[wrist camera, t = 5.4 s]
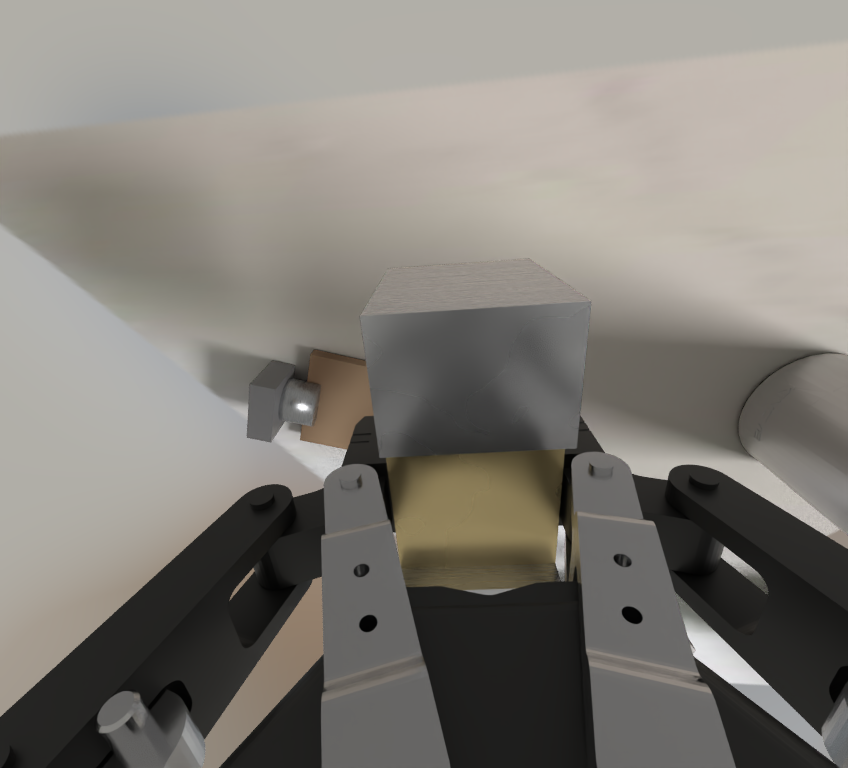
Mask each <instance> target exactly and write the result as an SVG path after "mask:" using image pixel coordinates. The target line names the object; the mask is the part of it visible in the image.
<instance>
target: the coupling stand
mask: <svg viewBox="0 0 848 768" xmlns="http://www.w3.org/2000/svg"><path fill="white" fill-rule="evenodd" d="M294 370H295V365H292V364H287V363H283V362H278V361H273V360H272V361H271V362H270V363H269V364H268V366H267V367H266V368H265V369H264V370H263V371H262V372H261V373H260V374H259V375H258V376H257V377H256V378H255V379H254V380H253V381H252V382H251V383H250V388H249V407H248V425H247V438H252V439H257V440H262V441H267V442H272V440H273V439H274V437H275V436H276V434H277V432H278V431H279V429H280V428H281V426H282V425H283V423H284V422H285V421H287V422H292V423H297V424H302V428H301V437H300V440H303V441H307V442H312V443H317V444H322V445H327V446H332V447H337V448H342V449H348V446H349V444H350V440H351V437H352V434H353V431H354V428H355V425H356V424H357V423H358V422H359V421H360V420H361V419H362V418H363V417H364V416H374V414H373V407H372V400H371V393H370V386H369V379H368V372H367V365H366V361H364V360H360V359H355V358H351V357H346V356H342V355H337V354H332V353H328V352H323V351H319V350H313V352H312V353H311V354H310V362H309V370H308V378H307V382H306V381H302V380H297V379H294Z"/></svg>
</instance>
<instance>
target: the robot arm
mask: <svg viewBox="0 0 848 768" xmlns="http://www.w3.org/2000/svg"><path fill="white" fill-rule="evenodd" d="M739 437H740V440H741V443H742V445H743V446H744V448H745V449H746V451H747V452H748V453H749V454H751V455H752V456H753V457H754V458H755V459H757V460H758V461H759V462H760V463H761V464H763V465H764V466H765V467H766V468H767V469H768V470H770V471H771V472H772V473H773V474H774V475H776V476H777V477H778V478H779V479H780V480H782V481H783V482H784V483H785V484H786V485H788V486H789V487H790V488H791V489H792V490H793V491H794V492H796V493H797V494H798V495H799V496H800V497H802V498H803V499H804V500H805V501H807V502H808V503H809V504H810V505H811V506H813V507H814V508H815V509H816V510H817V511H819V512H820V513H821V514H822V515H823V516H825V517H826V518H827V519H828V520H830V521H831V522H832V523H833V524H834V525H836V526H837V527H838V528H839V529H840V530H842V531H843V532H844V533H845V534H847V535H848V356H847V355H843V354H829V353H826V354H820V355H813V356H809V357H806V358H803V359H800V360H797V361H795V362H793V363H791V364H789V365H787V366H784V367H782V368H781V369H779V370H778V371H776V372H775V373H773V374H772V375H771V376H769V377H768V378H767V379H766V380H765V381H764V382H762V383H761V384H760V385H759V386H758V387H757V388H756V389H755V391H754V392H753V393H752V395H751V396H750V397H749V399H748V400H747V402H746V404H745V406H744V408H743V410H742V412H741V416H740V420H739ZM559 525H563V526H564V529H565V542H564V559H565V582H539V583H534V584H530V585H527V586H523V587H519V588H516V589H512V590H509V591H505V592H502V593H498V594H494V595H484V594H479V593H474V592H469V591H463V590H458V589H453V588H448V587H443V586H428V587H406V586H405V581H404V577H403V573H402V569H401V565H400V560H399V557H398V552H397V548H396V544H395V540H394V535H393V532H396V530H395V522H394V515H393V507H392V500H391V492H390V485H389V478H388V470H387V463H386V458H380V457H379V450H378V443H377V436H376V429H375V421H374V416H364V417H363V418H362V419H361V420H360V421H359V422H358V423H357V424H356V425H355V428H354V431H353V434H352V437H351V440H350V444H349V446H348V449H347V452H346V455H345V458H344V461H343V464H342V467H340V468H338V469H336V470H334V471H333V472H332V473H330V474H329V475H328V476H327V478H326V479H325V482H324V488H323V489H320V490H318V491H315V492H312V493H308V494H305V495H301V496H297V497H293V496H292V493H291V491H290V489H289V488H288V487H286V486H283V485H278V484H272V485H265V486H261V487H259V488H256V489H254V490H252V491H250V492H248V493H246V494H245V495H244V496H243V497H241V498H240V499H239V500H238V501H237V502H236V503H235V504H233V505H232V506H231V507H230V508H229V509H228V510H227V511H226V512H225V513H224V514H222V515H221V516H220V517H219V518H218V519H217V520H216V521H215V522H214V523H213V524H211V525H210V526H209V527H208V528H207V529H206V530H205V531H204V532H203V533H202V534H201V535H199V536H198V537H197V538H196V539H195V540H194V541H193V542H192V543H191V544H190V545H189V546H187V547H186V548H185V549H184V550H183V551H182V552H181V553H180V554H179V555H178V556H176V557H175V558H174V559H173V560H172V561H171V562H170V563H169V564H168V565H166V566H165V567H164V568H163V569H162V570H161V571H160V572H159V573H158V574H157V575H156V576H154V577H153V578H152V579H151V580H150V581H149V582H148V583H147V584H146V585H145V586H143V588H141V589H140V590H139V591H138V592H137V593H136V594H135V595H134V596H132V597H131V598H130V599H129V600H128V601H127V602H126V603H125V604H124V605H123V606H121V607H120V608H119V609H118V610H117V611H116V612H115V613H114V614H113V615H112V616H111V617H109V618H108V619H107V620H106V621H105V622H104V623H103V624H102V625H101V626H100V627H98V628H97V629H96V630H95V631H94V632H93V633H92V634H91V635H90V636H89V637H88V638H86V639H85V640H84V641H83V642H82V643H81V644H80V645H79V646H78V647H77V648H75V649H74V650H73V651H72V652H71V653H70V654H69V655H68V656H67V657H66V658H64V659H63V660H62V661H61V662H60V663H59V664H58V665H57V666H56V667H55V668H54V669H52V670H51V671H50V672H49V673H48V674H47V675H46V676H45V677H44V678H42V680H40V681H39V682H38V683H37V684H36V685H35V686H34V687H33V688H32V689H31V690H29V691H28V692H27V693H26V694H25V695H24V696H23V697H22V698H21V699H19V700H18V701H17V702H16V703H15V704H14V705H13V706H12V707H11V708H10V709H9V710H7V711H6V712H5V713H4V714H3V715H2V716H1V717H0V768H202V766H203V763H204V758H205V742H204V739H205V738H206V736H207V735H208V734H209V732H210V731H211V729H212V728H213V726H214V725H215V723H216V722H217V720H218V719H219V718H220V716H221V715H222V713H223V712H224V710H225V709H226V707H227V706H228V705H229V703H230V702H231V700H232V699H233V697H234V696H235V694H236V693H237V691H238V690H239V689H240V687H241V686H242V684H243V683H244V681H245V680H246V678H247V677H248V675H249V674H250V673H251V671H252V670H253V668H254V667H255V665H256V664H257V662H258V661H259V660H260V658H261V656H262V655H263V654H264V652H265V651H266V649H267V648H268V646H269V645H270V644H271V642H272V641H273V639H274V638H275V636H276V635H277V633H278V632H279V630H280V629H281V628H282V626H283V625H284V623H285V622H286V620H287V619H288V617H289V616H290V615H291V613H292V612H293V610H294V609H295V607H296V606H297V604H298V603H299V601H300V600H301V598H302V597H303V596H304V594H305V593H306V591H307V590H308V588H309V587H310V585H311V583H312V580H313V579H315V578H318V577H321V576H322V601H323V644H324V645H323V647H324V654H323V655H322V656H321V658H320V659H319V660H318V661H317V662H316V663H315V664H314V665H313V666H312V667H311V668H310V670H309V671H308V672H307V673H306V674H305V675H304V676H303V677H302V678H301V679H300V680H299V681H298V683H297V684H296V685H295V686H294V687H293V688H292V689H291V690H290V691H289V692H288V693H287V695H286V696H285V697H284V698H283V699H282V700H281V701H280V702H279V703H278V704H277V705H276V706H275V707H274V709H273V710H272V711H271V712H270V713H269V714H268V715H267V716H266V717H265V718H264V719H263V721H262V722H261V723H260V724H259V725H258V726H257V727H256V728H255V729H254V730H253V732H251V734H250V735H249V736H248V737H247V738H246V739H245V740H244V741H243V742H242V744H240V745H239V747H238V748H237V749H236V750H235V751H234V752H233V753H232V754H231V755H230V757H228V758H227V760H226V761H225V762H224V763H223V764H222V765H221V766H220V767H219V768H848V549H847V548H845V547H843V546H842V545H840V544H838V543H836V542H835V541H834V540H832V539H830V538H829V537H827V536H825V535H824V534H822V533H820V532H819V531H817V530H815V529H814V528H812V527H811V526H809V525H807V524H806V523H804V522H802V521H801V520H799V519H797V518H796V517H794V516H792V515H791V514H789V513H787V512H786V511H784V510H783V509H781V508H779V507H778V506H776V505H774V504H773V503H771V502H769V501H768V500H766V499H764V498H763V497H761V496H760V495H758V494H756V493H755V492H753V491H751V490H750V489H748V488H746V487H745V486H743V485H741V484H740V483H738V482H736V481H735V480H733V479H732V478H730V477H728V476H727V475H725V474H723V473H721V472H719V471H717V470H714V469H711V468H708V467H704V466H699V465H681V466H677V467H675V468H673V469H672V470H671V471H670V473H669V476H668V480H662V479H655V478H648V477H642V476H638V475H634V474H632V473H631V469H630V467H629V466H628V465H627V464H626V463H625V462H624V461H623V460H621V459H620V458H618V457H616V456H613V455H610V454H607V453H605V452H604V451H603V449H602V448H601V446H600V445H599V443H598V442H597V440H596V439H595V437H594V435H593V434H592V432H591V431H589V428H588V426H587V425H586V423H584V420H583V419H582V417H581V416H580V420H579V430H578V440H577V448H576V449H565V454H564V465H563V477H562V489H561V501H560V512H559V524H558V526H559ZM724 546H725V547H726V548H728V549H729V550H730V551H732V552H733V553H734V554H735V555H737V556H738V557H739V558H741V559H742V560H743V561H745V562H746V563H747V564H748V565H750V566H751V567H752V568H754V569H755V570H756V571H757V572H758V573H759V574H760V575H761V576H762V578H763V579H764V581H765V582H766V584H767V587H768V590H769V596H768V595H767V594H765V593H764V592H763V591H762V590H761V589H759V588H758V587H757V586H756V585H754V584H753V583H752V582H751V581H749V580H748V579H747V578H746V577H744V576H743V575H742V574H741V573H739V572H738V571H737V570H736V569H734V568H733V567H732V566H731V565H729V564H728V563H727V562H726V561H724V560H723V559H722V558H721V554H722V551H723V548H724ZM252 568H254V570H255V572H254V573H253V574H252V575H251V577H250V578H249V579H248V580H247V581H246V582H245V583H244V585H243V586H242V587H241V588H240V589H239V591H238V592H237V593H236V594H235V595H234V596H233V598H232V599H231V600H230V597H231V595H232V592H233V591H234V589H235V588H236V586H238V584H239V583H240V582H241V581H242V580H243V579H244V578H245V576H246V575H247V574H248V573H249V572H250V570H251V569H252ZM675 592H676V593H677V594H678V595H679V596H680V597H681V598H682V599H683V600H684V601H685V602H686V603H687V604H688V605H689V606H690V607H691V608H692V609H693V610H694V611H695V612H696V613H697V614H698V615H699V616H700V617H701V618H702V619H703V620H704V621H705V622H706V623H707V624H708V625H709V626H710V627H711V628H712V629H713V630H714V631H715V632H716V633H717V634H718V635H719V636H720V637H721V638H722V639H723V640H725V641H726V642H727V643H728V644H729V645H730V646H731V647H732V648H733V649H734V650H735V651H736V652H737V653H738V654H739V655H740V656H741V657H742V658H743V659H744V660H745V661H746V662H747V663H748V664H749V665H750V666H751V667H752V668H753V669H754V670H755V671H756V672H757V673H758V674H759V675H760V676H761V677H762V678H763V679H764V680H765V681H766V682H767V683H768V684H769V685H770V686H771V687H772V688H773V689H774V690H775V691H776V692H777V693H778V694H780V696H782V698H784V700H785V701H787V702H788V703H789V704H790V705H791V706H792V707H793V708H794V709H795V710H796V711H797V712H798V713H799V714H800V715H801V716H802V717H803V718H804V719H805V720H806V721H807V722H808V723H809V724H810V725H811V726H812V727H813V728H814V729H815V730H816V731H817V732H818V733H819V734H820V735H821V736H822V737H823V741H824V744H825V747H826V749H827V751H828V753H829V755H830V757H831V758H832V760H833V762H834V763H835V764H834V763H833V762H832V761H830V760H829V759H828V758H826V757H825V756H824V755H822V754H821V753H820V752H819V751H817V750H816V749H815V748H813V747H812V746H811V745H809V744H808V743H807V742H805V741H804V740H803V739H801V738H800V737H799V736H798V735H796V734H795V733H794V732H792V731H791V730H790V729H788V728H787V727H786V726H784V725H783V724H782V723H780V722H779V721H778V720H776V719H775V718H774V717H773V716H771V715H770V714H769V713H767V712H766V711H765V710H763V709H762V708H761V707H759V706H758V705H757V704H755V703H754V702H753V701H751V700H750V699H749V698H747V697H746V696H745V695H744V694H742V693H741V692H740V691H738V690H737V689H736V688H734V687H733V686H732V685H730V684H729V683H728V682H726V681H725V680H724V679H723V678H721V677H720V676H719V675H717V674H716V673H715V672H713V671H712V670H711V669H709V668H708V667H707V666H705V665H704V664H703V663H701V662H700V661H699V660H698V659H696V658H695V657H694V656H693V653H692V650H691V646H690V643H689V639H688V636H687V632H686V629H685V625H684V622H683V618H682V615H681V612H680V608H679V605H678V601H677V598H676V594H675ZM229 600H230V601H229Z"/></svg>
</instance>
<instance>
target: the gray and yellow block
mask: <svg viewBox="0 0 848 768" xmlns="http://www.w3.org/2000/svg"><path fill="white" fill-rule="evenodd" d="M590 310H591V300H589V299H588V298H586V297H585V296H583V295H582V294H580V293H579V292H577V291H576V290H575V289H573V288H572V287H570V286H569V285H567V284H566V283H564V282H563V281H561V280H560V279H559V278H557V277H556V276H554V275H553V274H551V273H550V272H548V271H547V270H546V269H544V268H543V267H541V266H540V265H538V264H537V263H535V262H534V261H532V260H531V259H530V258H529V259H515V260H501V261H487V262H472V263H458V264H444V265H430V266H416V267H402V268H388V269H387V271H386V273H385V275H384V276H383V278H382V280H381V281H380V283H379V285H378V286H377V288H376V290H375V291H374V293H373V295H372V296H371V298H370V300H369V301H368V303H367V305H366V306H365V308H364V310H363V311H362V313H361V315H360V322H361V330H362V337H363V344H364V351H365V358H366V365H367V372H368V379H369V386H370V393H371V400H372V407H373V414H374V421H375V429H376V436H377V443H378V450H379V457H380V458H386V463H387V470H388V478H389V485H390V492H391V500H392V507H393V515H394V522H395V530H396V537H397V545H398V552H399V560H400V565H401V569H402V573H403V577H404V581H405V586H406V587H428V586H443V587H448V588H453V589H458V590H463V591H469V592H474V593H479V594H484V595H494V594H498V593H502V592H505V591H509V590H512V589H516V588H519V587H523V586H527V585H530V584H534V583H539V582H561V580H560V577H559V574H558V571H557V568H556V565H555V559H556V547H557V536H558V524H559V512H560V501H561V489H562V477H563V465H564V454H565V449H576V448H577V440H578V430H579V420H580V410H581V400H582V390H583V380H584V370H585V360H586V350H587V340H588V330H589V320H590Z"/></svg>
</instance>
